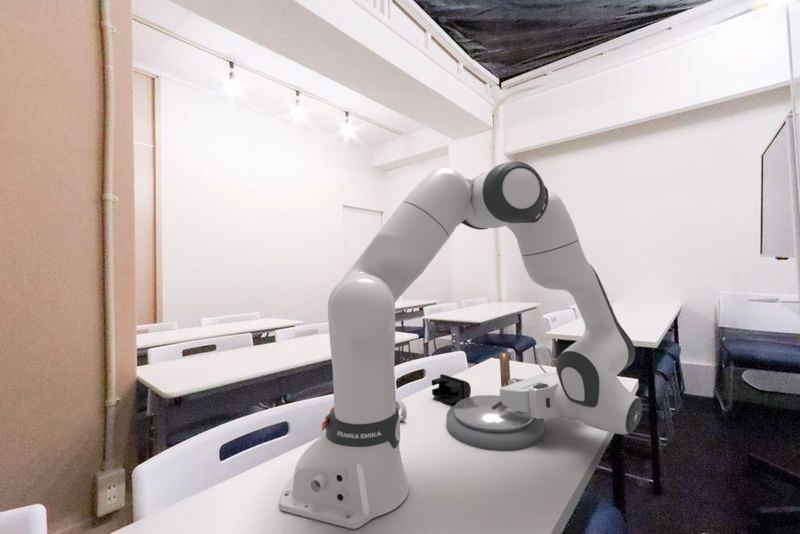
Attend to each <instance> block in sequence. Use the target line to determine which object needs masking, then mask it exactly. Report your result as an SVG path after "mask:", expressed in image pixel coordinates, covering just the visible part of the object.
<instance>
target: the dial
mask: <svg viewBox="0 0 800 534" xmlns="http://www.w3.org/2000/svg"><path fill="white" fill-rule="evenodd" d="M510 366H511V365H510V353H508V352H499V367H500V368H499V370H500V371H499V372H500V373H499V374H500V385H501V386H500V388H501V387H504V386H507V385H508V380H509V379H511V367H510ZM454 416H455V418H456V420H457V421H458V422H460V423H461V424H463V425H465V426H467V427H469V428H472V429H475V430H479V431H484V432H493V433H508V432H515V431H520V430H523V429H526V428H528V427H529V426H531V425H532V424H533V422H534V417H532V416H531V413H525V412H521V411H518V410H515V409H513V408H510V407H508V406H505V405H504V404H502V402H501V400H500V395H495V394H493V395H492V394H491V395H490V394H488V395H487V394H486V395H485V394H484V395H483V394H482V395H474V396H470V397H469V398H465V399H463V400H461V401H459V402H457V403H456V404H455V406H454Z"/></svg>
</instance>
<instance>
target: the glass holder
mask: <svg viewBox="0 0 800 534" xmlns="http://www.w3.org/2000/svg"><path fill="white" fill-rule="evenodd" d="M576 341H577V340H572V339H562V340H556V341H555V348H556V351H555V352H556V358H553V356H552V352H551V349H550V348H549V347H547V346H544V345H541V346H539V347H538V348H537V349H536V351H535V357H536V361H537V363H538V365H539V368H540V369H541V370H542V371H543V373H547V372H548V371H546V370H545V369H544V368H543V367H542V365H541V364H540V361H539V358H538V351H539V349H542V348H545V349H547V350H548V352H549V358H550V360H552V361H555V362H556V360H557V358H558V356H559V355H560V354H561V353H562V352H563V351H564V350H566V349H567V348H568V347H569V346H571V345H572V344H574V343H575V342H576Z"/></svg>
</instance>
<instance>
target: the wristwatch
mask: <svg viewBox="0 0 800 534" xmlns="http://www.w3.org/2000/svg"><path fill="white" fill-rule="evenodd" d="M396 407H397V408H398V412H399V413H400V409H401V413H400V414H399V418H400V422H402V421H405V420H406V419H407V415H408V414H407V407H406V405H405V403H404V401H402V400H401V399H399V400H396Z"/></svg>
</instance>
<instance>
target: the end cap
mask: <svg viewBox="0 0 800 534" xmlns="http://www.w3.org/2000/svg"><path fill="white" fill-rule="evenodd" d="M435 385H436V386H437V385H438V387H436V388H433V389H431V394H432V396H433V397H432V399H434V400H433V401H435V400H436V402H438V401H439V403H440V402H441V403H440V404H443V405H445V404H446V405H445V406H448V405H449V406H448V407H450V406H451V407H450V408H452V407H453V406H455V404H456V403H457V402H459V401H461V400H463V399H465V398H469V397H471V394H472V392H471V391H472V387H471V385H470V383H469V382H468V381H466V380H463V379H460V378H457V377H453V376H451V375H446V374H443V373H442V374H440V375H439V377H438V378H435V379H432V380H431V386H435Z"/></svg>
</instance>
